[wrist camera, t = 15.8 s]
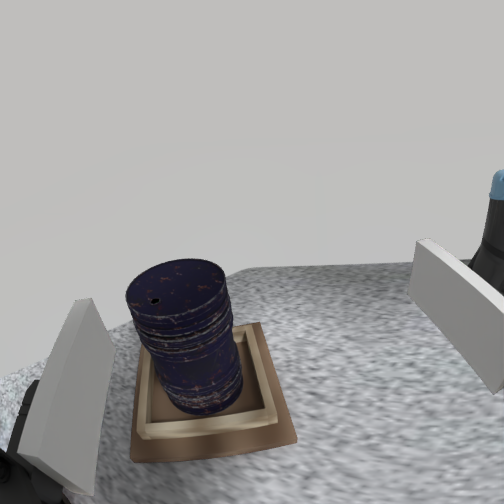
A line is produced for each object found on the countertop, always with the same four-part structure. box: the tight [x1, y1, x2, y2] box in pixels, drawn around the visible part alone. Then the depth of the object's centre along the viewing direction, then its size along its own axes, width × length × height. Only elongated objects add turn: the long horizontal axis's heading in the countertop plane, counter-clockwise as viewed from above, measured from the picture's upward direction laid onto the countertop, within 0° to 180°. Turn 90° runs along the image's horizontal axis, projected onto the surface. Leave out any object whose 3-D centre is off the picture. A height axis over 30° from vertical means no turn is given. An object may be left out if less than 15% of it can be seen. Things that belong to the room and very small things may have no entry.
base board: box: [130, 322, 297, 463], centre depth 34 cm, size 18×20×3 cm
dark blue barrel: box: [125, 259, 244, 416], centre depth 31 cm, size 10×10×15 cm
